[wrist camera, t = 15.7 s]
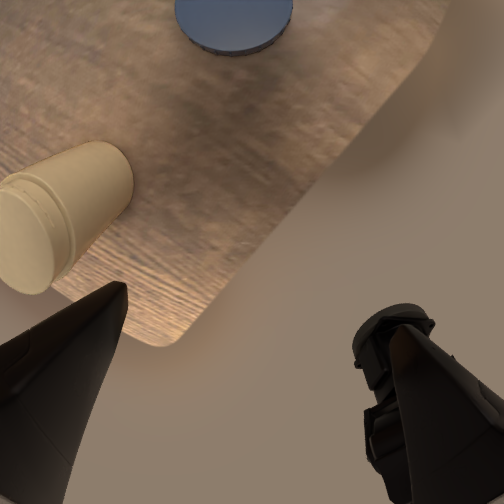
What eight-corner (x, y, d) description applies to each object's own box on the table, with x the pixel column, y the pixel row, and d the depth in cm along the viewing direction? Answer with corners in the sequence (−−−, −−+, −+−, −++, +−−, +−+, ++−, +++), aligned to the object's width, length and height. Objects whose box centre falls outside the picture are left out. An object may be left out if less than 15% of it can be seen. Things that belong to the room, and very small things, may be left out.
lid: (229, -46, 12) (227, -58, 10) (311, 8, 14) (317, -1, 12) (159, 21, 14) (150, 15, 12) (240, 77, 16) (239, 74, 15)
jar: (136, 142, 18) (51, 187, 9) (132, 225, 21) (69, 312, 12) (63, 139, 18) (-35, 181, 9) (65, 215, 21) (-12, 286, 12)
